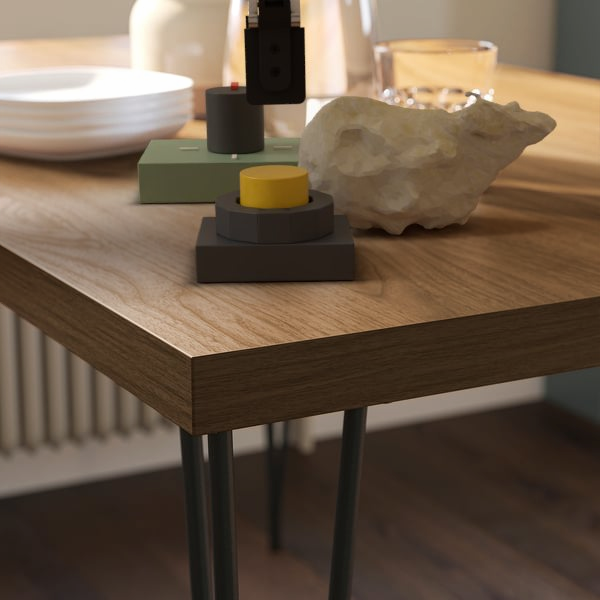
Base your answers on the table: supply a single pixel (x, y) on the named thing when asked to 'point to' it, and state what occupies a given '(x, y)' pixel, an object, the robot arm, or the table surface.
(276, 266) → the button housing
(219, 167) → the dial panel
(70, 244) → the table surface
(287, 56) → the robot arm
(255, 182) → the trigger button
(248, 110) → the dial
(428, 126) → the cream lumpy rock
